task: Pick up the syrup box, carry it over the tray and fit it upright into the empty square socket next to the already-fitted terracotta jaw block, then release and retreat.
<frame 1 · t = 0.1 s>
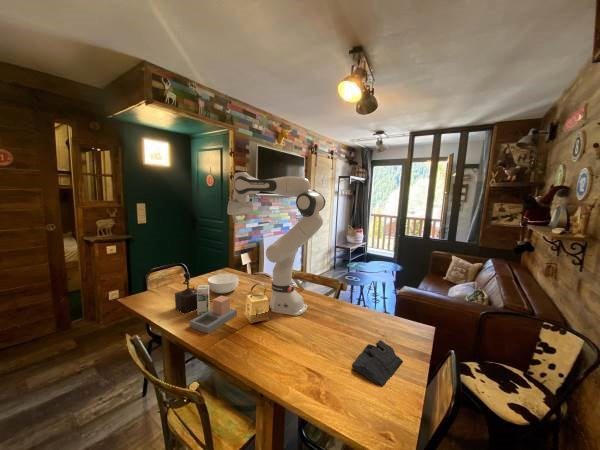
hand: (240, 221, 152), 48 cm above the table, fingers open, 8 cm apart
dark slate chunk: (375, 365, 97), on the table
bowl: (223, 290, 164), on the table
manual coffee grinder: (186, 307, 139), on the table
syrup box: (203, 312, 134), on the table
tray: (214, 320, 125), on the table
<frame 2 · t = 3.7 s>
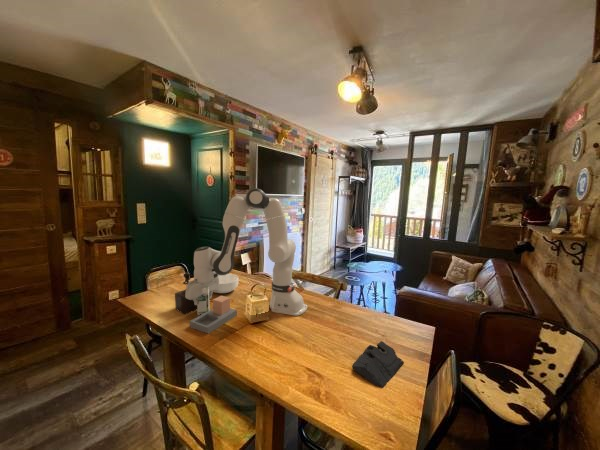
hand: (203, 301, 133), 6 cm above the table, fingers closed on syrup box, 8 cm apart
syrup box: (203, 312, 134), on the table, touching gripper
when the fingers open (8 cm above the table, at t = 9.1 s): syrup box stays where it is, resting on tray.
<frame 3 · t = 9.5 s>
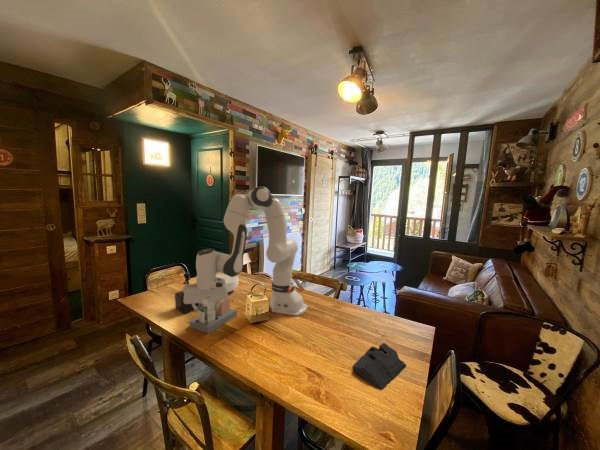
hand: (206, 309, 119), 8 cm above the table, fingers open, 8 cm apart
syrup box: (207, 324, 120), resting on tray
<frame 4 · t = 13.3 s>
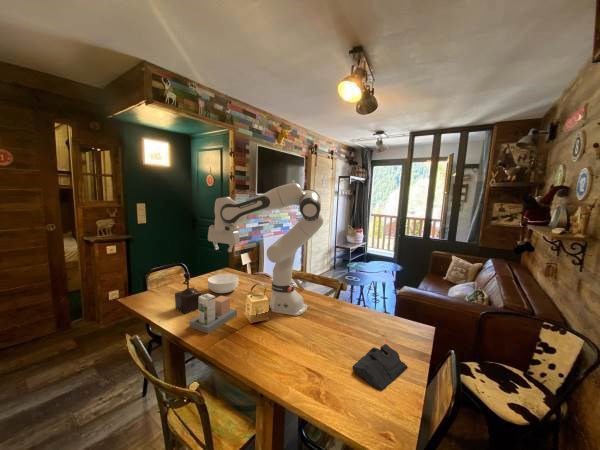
hand: (223, 250, 136), 33 cm above the table, fingers open, 8 cm apart
at the end: syrup box 0.2 cm from the target spot on the tray, point 0.4 cm above the tray's base; syrup box tilted 0°; the gripper is holding nothing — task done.
